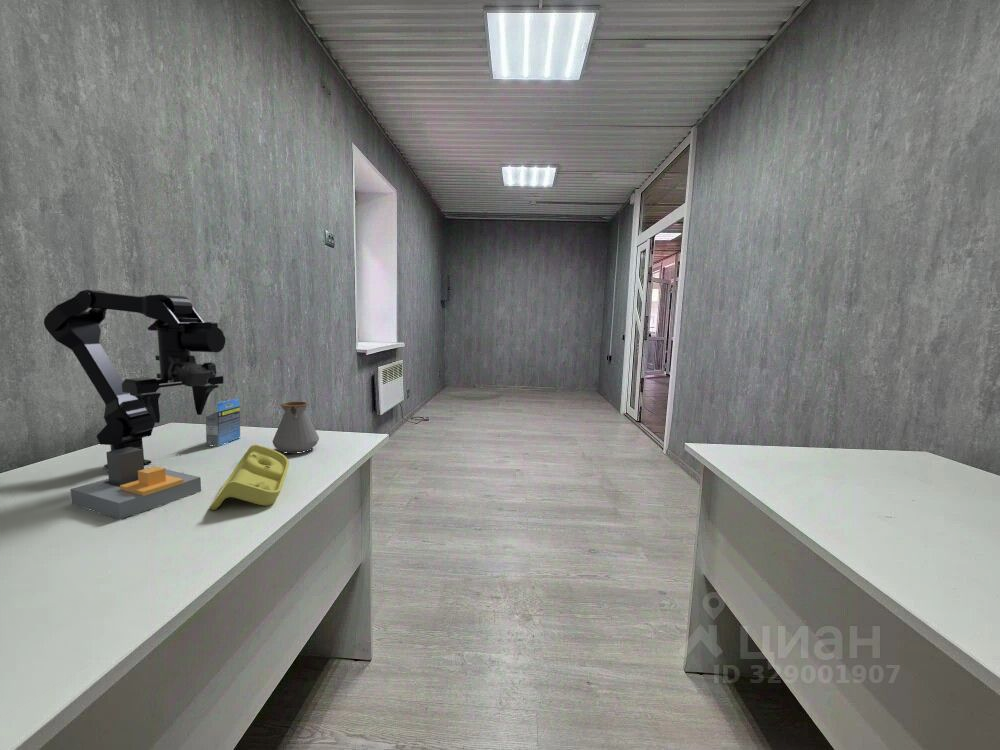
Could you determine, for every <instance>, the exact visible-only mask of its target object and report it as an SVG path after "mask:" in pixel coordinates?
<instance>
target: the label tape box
mask: <svg viewBox="0 0 1000 750" xmlns="http://www.w3.org/2000/svg"><path fill="white" fill-rule="evenodd" d="M228 404H229V406H228ZM215 405H216V412H214V413H211V414H209V415H207V416H205V436H206V437H205V438H206V443H205V444H206V446H208V445H213V446H212V447H217V446H218V447H220V446H219V445H221V446H223V445H222V444H224V443H226V444H228V443H227V442H229V443H231V442H233V441H232V440H234V441H236V440H238V439H237V438H239V437H240V438H241V408H240V407H241V406H240V398H239V397H237V398H232V399H229V400H225V401H219V402H216V403H215ZM240 438H239V439H240ZM235 439H236V440H235ZM230 441H231V442H230ZM214 445H215V446H214ZM224 445H225V444H224Z"/></svg>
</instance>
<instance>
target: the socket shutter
mask: <svg viewBox="0 0 1000 750" xmlns="http://www.w3.org/2000/svg"><path fill="white" fill-rule="evenodd" d="M146 468H147V469H146ZM146 468H144V469H143V470H139V471H138V480H137V481H134V482H130V483H127V484H123V485H120V490H123V491H127V492H131V493H134V494H138V495H142V496H145V495H148V494H151V493H155V492H158V491H161V490H164V489H167V488H170V487H173V486H176V485H180V484H183V483H184V479H181V478H177V477H172V476H168V475H166V474H165V469H166V468H165V467H161V466H156V465H154V467H153V466H151V467H146Z"/></svg>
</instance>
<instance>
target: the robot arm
mask: <svg viewBox="0 0 1000 750" xmlns="http://www.w3.org/2000/svg"><path fill="white" fill-rule="evenodd" d="M88 309H89V310H88ZM87 310H88V311H87ZM107 310H112V311H121V312H129V313H130V312H131V313H138V314H141V315H143V316H145V317H147V318H149V319H153V320H154V321H153V323H152V324H150V325H149V326H148V327H147V330H148V331H153V332H154V331H157V343H158V344H157V346H158V355H155V356H154V357H155V361H158V362H159V372H160V373H156V378H154V377H153V378H152V377H145V376H142V377H134V378H125V379H124V380H123V379H122V377H121V376H120V374H119V373H118V370H117V369H116V368H115V366H114V364H113V362H112V361H111V359H110V357H109V356H108V354H107V353H106V351H105V350H104V348H103V346H102V344H101V343H100V338H101V334H102V333H101V332H102V330H101V328H100V324H101V323H102V322H103V321H104V320H105V319H106V313H107ZM218 325H219V324H218V322H217V321H216V322H215V321H214V322H213V321H207V322H205V321H204V319H202V316H200V314H199V313H198V312H197V310H196V309H195V308H194V306H193V304H192V302H191V301H190V299H189V297H186V296H184V295H173V294H148V295H147V294H146V295H144V296H143V295H142V296H141V295H133V294H132V295H131V294H123V293H116V292H115V293H114V292H107V291H104V290H97V289H96V290H94V289H83V290H81V291H79V292H78V293H77V294H76V295H74V296H73V297H72V298H70V299H67V300H65V301H63V302H61V303H60V304H57V305H56V306H55V307H54V308H52V310H50V311H49V312H48V313H47V314H46V316H45V317H44V320H43V326H44V327H45V329H46V331H47V332H48V333H49V334H50V336H51V337H53V339H54V340H55V341H56V342H58V343H59V344H61V345H63V346H64V347H66V348H67V349H70V350H71V351H72V352H73V354H74V356H75V357H76V359H77V360H78V362H79V364H80V366H81V367H82V369H83V371H84V373H86V375H87V377H88V378H89V380H90V382H91V383H92V385H93V386H94V388H95V390H96V392H97V393H98V395H99V397H100V398H101V399H102V401H103V402H104V404H105V408H104V412H103V419H104V421H105V426H104V427H103V428H102V429H101V430H100V432H98V433H97V435H96V439H97V441H98V443H99V445H103V446H105V445H106V446H107V445H108V446H110V451H114V450H118V449H123V448H127V447H134V448H138V449H143V450H144V444H143V438H146V437H151V436H152V433H153V430H154V427H155V424H156V423H158V424H159V423H160V422H161V418H160V417H161V415H160V413H161V412H160V405H159V404H160V403H159V398H160V396H161V395H162V393H161V392H157V391H158V390H159V389H160V388H167V387H175V386H183V385H184V386H185V387H189V388H190V387H191V389H192V395H193V402H194V408H195V412H196V415H197V416H201V415H202V414H203V412H204V409H205V406H206V403H207V401H208V398H209V396H210V394H211V393H212V392H213V391H214V390H215V389H217V388H219V386H220V385H221V384H225V381H224V380H225V378H224V377H225V376H224V375H223V374H222V373H221V371H217V366H216V363H214V362H209V361H208V362H203V363H202V364H199V363H197V361H196V357H195V355H191V352H193V353H220V352H222V350H224V347H225V345H226V336H225V334H224V332H223V330H222V329H221V328H219V326H218ZM144 457H145V456H144V452H143V461H144V466H145V465H149V464H152V460H149V459H145V458H144ZM104 468H107V469H108V465H107V464H104Z"/></svg>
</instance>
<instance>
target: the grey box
mask: <svg viewBox="0 0 1000 750" xmlns="http://www.w3.org/2000/svg"><path fill="white" fill-rule="evenodd" d="M143 453H144V448H143V449H138V448H134V447H127V448H123V449H118V450H114V451H111V450H110V451H106V462H107V465H108V468H107V474H108V475H107V476H108V477H107V478H108V479H109V484H110V485H114V486H118V487H120V485H123V484H127V483H130V482H134V481H137V480H138V471H139V470H143V469H145V465H144V461H143Z"/></svg>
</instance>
